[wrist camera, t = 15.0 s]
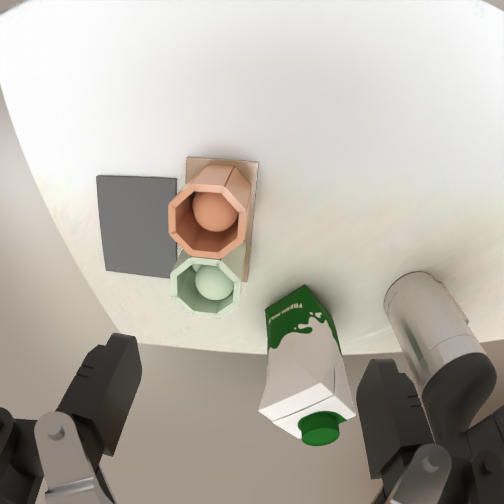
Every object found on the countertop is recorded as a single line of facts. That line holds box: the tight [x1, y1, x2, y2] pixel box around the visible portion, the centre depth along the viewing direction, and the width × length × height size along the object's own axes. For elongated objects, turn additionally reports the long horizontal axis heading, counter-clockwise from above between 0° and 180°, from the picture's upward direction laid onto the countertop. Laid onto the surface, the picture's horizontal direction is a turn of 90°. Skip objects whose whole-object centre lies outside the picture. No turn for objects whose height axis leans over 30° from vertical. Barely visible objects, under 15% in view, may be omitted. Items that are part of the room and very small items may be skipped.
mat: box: [96, 176, 177, 279], centre depth 41 cm, size 11×14×1 cm
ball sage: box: [195, 265, 234, 300], centre depth 36 cm, size 4×4×4 cm
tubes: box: [168, 157, 258, 319], centre depth 36 cm, size 8×16×10 cm, turn 175°
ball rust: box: [194, 192, 238, 232], centre depth 32 cm, size 4×4×4 cm
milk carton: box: [258, 285, 356, 446], centre depth 37 cm, size 9×9×20 cm
